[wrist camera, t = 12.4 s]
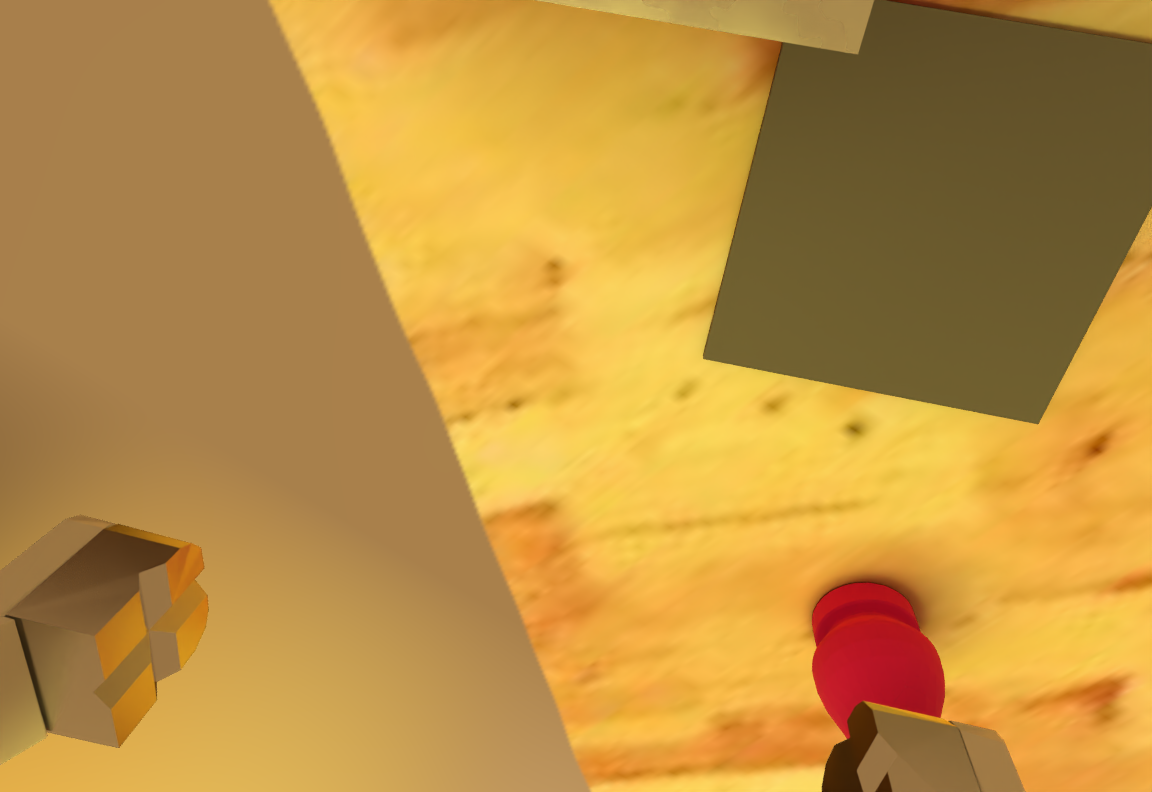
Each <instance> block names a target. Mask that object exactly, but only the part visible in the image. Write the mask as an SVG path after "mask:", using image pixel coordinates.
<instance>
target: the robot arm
mask: <svg viewBox="0 0 1152 792" xmlns="http://www.w3.org/2000/svg"><path fill="white" fill-rule="evenodd" d="M203 569H204V562H203V556H202V550H201V547H199V546H197V545H194V544H192V543H189V542H185V541H181V540H178V539H174V538H170V537H166V536H162V535H159V534H155V533H151V532H147V531H144V530H140V529H136V528H132V527H129V526H125V525H121V524H115V523H111V522H107V521H103V520H99V519H95V518H91V517H88V516H84V515H77V516H74V517H71V518H67V519H65V520H63V521H62V522H61V523H60V524H58V525H57V526H56V527H54V528H53V529H52V530H51V531H49V532H48V533H47V534H46V535H44V536H43V537H42V538H41V539H39V540H38V541H37V542H36V543H34V544H33V545H32V546H31V547H29V548H28V549H27V550H26V551H24V552H23V553H22V554H21V555H20V556H18V557H17V558H16V559H14V560H13V561H12V562H11V563H9V564H8V565H7V566H5V567H4V568H3V569H2V570H1V571H0V765H1V764H3V763H4V762H6V761H8V760H10V759H11V758H13V757H14V756H16V755H18V754H20V753H21V752H23V751H25V750H26V749H28V748H30V747H31V746H33V745H35V744H36V743H38V742H40V741H41V740H43V739H45V738H46V737H47V736H48V735H47V732H48V733H53V734H57V735H62V736H66V737H71V738H76V739H80V740H85V741H89V742H94V743H98V744H103V745H107V746H112V747H116V748H119V747H120V746H121V745H122V744H123V742H124V741H125V740H126V739H127V737H128V736H129V735H130V734H131V732H132V731H133V730H134V729H135V727H136V726H137V725H138V724H139V722H140V721H141V720H142V718H143V717H144V716H145V715H146V713H147V712H148V711H149V710H150V708H151V707H152V706H153V705H154V703H155V702H156V701H157V682H158V681H159V680H162V679H164V678H166V677H167V676H170V675H172V674H174V673H176V672H178V671H179V670H181V669H182V668H183V666H184V665H185V664H186V662H187V661H188V660H189V658H190V657H191V656H192V654H193V653H194V652H195V650H196V648H197V646H198V643H199V641H200V639H201V637H202V635H203V633H204V630H205V628H206V623H207V617H208V611H209V607H208V596H207V594H206V593H205V591H204V590H203V589H202V588H201V586H200V585H199V584H198V583H197V581H196V580H195V578H196V577H197V576H198V575H199V574H200V573H201V572H202V570H203ZM847 723H848V729H849V734H850V738H849V739H847V740H844V741H842V742H840V743H838V744H836V745H834V747H833V749H832V752H831V754H830V756H829V758H828V760H827V763H826V766H825V771H824V777H823V783H822V792H1025V789H1024V787H1023V785H1022V782H1021V780H1020V778H1019V775H1018V773H1017V770H1016V768H1015V766H1014V763H1013V761H1012V758H1011V756H1010V754H1009V751H1008V749H1007V747H1006V744H1005V742H1004V740H1003V739H1002V738H1001V737H1000V736H999V734H998V733H997V732H996V731H994V730H990V729H985V728H981V727H976V726H972V725H968V724H963V723H959V722H954V721H947V720H945V719H942V718H938V717H933V716H929V715H924V714H920V713H915V712H911V711H907V710H902V709H898V708H893V707H889V706H884V705H880V704H875V703H871V702H866V701H862V702H860V703H859V704H858V705H856V706H855V707H854V709H853V711H852V713H851V714H850V716H849V718H848V720H847Z"/></svg>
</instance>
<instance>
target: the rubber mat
mask: <svg viewBox="0 0 1152 792" xmlns="http://www.w3.org/2000/svg"><path fill="white" fill-rule="evenodd" d="M1151 207H1152V44H1149V43H1143V42H1137V41H1131V40H1125V39H1119V38H1113V37H1107V36H1100V35H1094V34H1088V33H1082V32H1076V31H1070V30H1064V29H1058V28H1052V27H1045V26H1039V25H1033V24H1027V23H1021V22H1015V21H1009V20H1003V19H996V18H990V17H984V16H978V15H972V14H966V13H960V12H954V11H947V10H941V9H935V8H929V7H923V6H917V5H911V4H905V3H899V2H892V1H886V0H874V2H873V6H872V9H871V12H870V16H869V19H868V22H867V26H866V29H865V32H864V36H863V39H862V42H861V46H860V49H859V52H858V54H852V53H846V52H840V51H834V50H828V49H822V48H816V47H810V46H804V45H798V44H792V43H786V42H783V43H782V47H781V50H780V54H779V58H778V62H777V66H776V70H775V74H774V78H773V82H772V86H771V90H770V94H769V98H768V102H767V106H766V110H765V114H764V117H763V121H762V125H761V129H760V133H759V137H758V141H757V145H756V149H755V153H754V157H753V161H752V165H751V169H750V173H749V177H748V181H747V185H746V188H745V192H744V196H743V200H742V204H741V208H740V212H739V216H738V220H737V224H736V228H735V232H734V236H733V240H732V244H731V248H730V252H729V256H728V259H727V263H726V267H725V271H724V275H723V279H722V283H721V287H720V291H719V295H718V299H717V303H716V307H715V311H714V315H713V319H712V323H711V327H710V330H709V334H708V338H707V342H706V346H705V350H704V354H703V359H706V360H712V361H717V362H722V363H727V364H732V365H737V366H742V367H747V368H753V369H758V370H763V371H768V372H773V373H778V374H783V375H788V376H794V377H799V378H804V379H809V380H814V381H819V382H824V383H829V384H835V385H840V386H845V387H850V388H855V389H860V390H865V391H870V392H876V393H881V394H886V395H891V396H896V397H901V398H906V399H911V400H917V401H922V402H927V403H932V404H937V405H942V406H947V407H952V408H958V409H963V410H968V411H973V412H978V413H983V414H988V415H993V416H999V417H1004V418H1009V419H1014V420H1019V421H1024V422H1029V423H1034V424H1039V422H1040V420H1041V418H1042V416H1043V414H1044V412H1045V410H1046V408H1047V406H1048V405H1049V403H1050V401H1051V399H1052V397H1053V395H1054V393H1055V391H1056V389H1057V387H1058V385H1059V383H1060V382H1061V380H1062V378H1063V376H1064V374H1065V372H1066V370H1067V368H1068V366H1069V364H1070V362H1071V360H1072V359H1073V357H1074V355H1075V353H1076V351H1077V349H1078V347H1079V345H1080V343H1081V341H1082V339H1083V337H1084V336H1085V334H1086V332H1087V330H1088V328H1089V326H1090V324H1091V322H1092V320H1093V318H1094V316H1095V314H1096V313H1097V311H1098V309H1099V307H1100V305H1101V303H1102V301H1103V299H1104V297H1105V295H1106V293H1107V291H1108V290H1109V288H1110V286H1111V284H1112V282H1113V280H1114V278H1115V276H1116V274H1117V272H1118V270H1119V268H1120V267H1121V265H1122V263H1123V261H1124V259H1125V257H1126V255H1127V253H1128V251H1129V249H1130V247H1131V245H1132V244H1133V242H1134V240H1135V238H1136V236H1137V234H1138V232H1139V230H1140V228H1141V226H1142V224H1143V222H1144V221H1145V219H1146V217H1147V215H1148V213H1149V211H1150V209H1151Z"/></svg>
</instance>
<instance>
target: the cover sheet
mask: <svg viewBox="0 0 1152 792" xmlns="http://www.w3.org/2000/svg"><path fill="white" fill-rule="evenodd" d="M537 1H543V2H549V3H554V4H560V5H566V6H572V7H578V8H584V9H590V10H596V11H602V12H608V13H614V14H620V15H626V16H632V17H638V18H644V19H650V20H656V21H661V22H667V23H673V24H679V25H685V26H691V27H697V28H703V29H709V30H715V31H721V32H727V33H733V34H739V35H745V36H751V37H757V38H763V39H768V40H774V41H780V42H786V43H792V44H798V45H804V46H810V47H816V48H822V49H828V50H834V51H840V52H846V53H852V54H858V52H859V49H860V46H861V42H862V39H863V36H864V32H865V29H866V26H867V22H868V19H869V16H870V12H871V9H872V6H873V2H874V0H537Z"/></svg>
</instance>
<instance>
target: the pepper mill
mask: <svg viewBox="0 0 1152 792" xmlns="http://www.w3.org/2000/svg"><path fill="white" fill-rule="evenodd" d="M812 627H813V632H814V637H815V642H816V646H817V648H816V651H815V653H814V657H813V662H812V672H813V677H814V681H815V685H816V688H817V692H818V694H819V696H820V698H821V700H822V702H823V704H824V706H825V708H826V710H827V712H828V714H829V715H830V716H831V718H832V719H833V720H834V722H835V723H836V724H837V726H838V727H839V728H840V729H841V731H842V732H843V733H844V735H845V736H846V738H847V739H849V738H850V734H849V729H848V723H847V720H848V718H849V716H850V714H851V713H852V711H853V709H854V707H855V706H856V705H858V704H859V703H860V702H862V701H866V702H871V703H875V704H880V705H884V706H889V707H893V708H898V709H902V710H907V711H911V712H915V713H920V714H924V715H929V716H933V717H938V718H940V717H941V713H942V708H943V703H944V698H945V680H944V672H943V669H942V665H941V661H940V658H939V655H938V653H937V651H936V649H935V647H934V646H933V644H932V643H931V642H930V641H929V640H928V638H927V637H925V636H924V635H923V634H922V633H921V632H920V629H919V626H918V623H917V620H916V617H915V614H914V611H913V609H912V606H911V605H910V603H909V602H908V600H907V599H906V598H905V597H904V596H903V595H901V594H900V593H899V592H897V591H895V590H893V589H891V588H889V587H887V586H884V585H879V584H874V583H853V584H848V585H844V586H841V587H839V588H837V589H835V590H832V591H831V592H829V593H828V594H827V595H826V596H824V597H823V598H822V599H821V600H820V602H819V603H818V604H817V606H816V608H815V610H814V612H813V616H812Z"/></svg>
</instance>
